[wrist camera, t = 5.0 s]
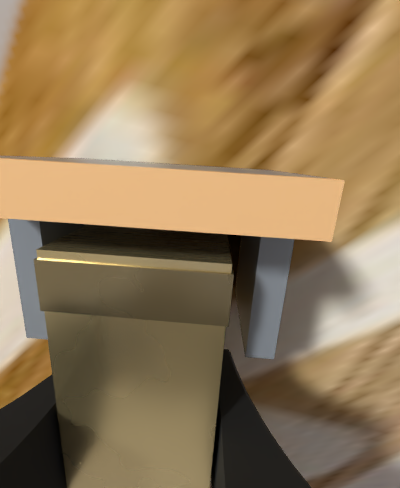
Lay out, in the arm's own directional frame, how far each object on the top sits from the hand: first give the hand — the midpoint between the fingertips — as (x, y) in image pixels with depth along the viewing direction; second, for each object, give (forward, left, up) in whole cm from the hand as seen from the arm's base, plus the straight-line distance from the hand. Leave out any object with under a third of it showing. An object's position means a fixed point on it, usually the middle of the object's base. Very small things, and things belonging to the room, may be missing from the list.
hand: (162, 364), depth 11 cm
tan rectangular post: (-3, 0, -2) cm, 3 cm away
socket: (+5, 0, -2) cm, 5 cm away
